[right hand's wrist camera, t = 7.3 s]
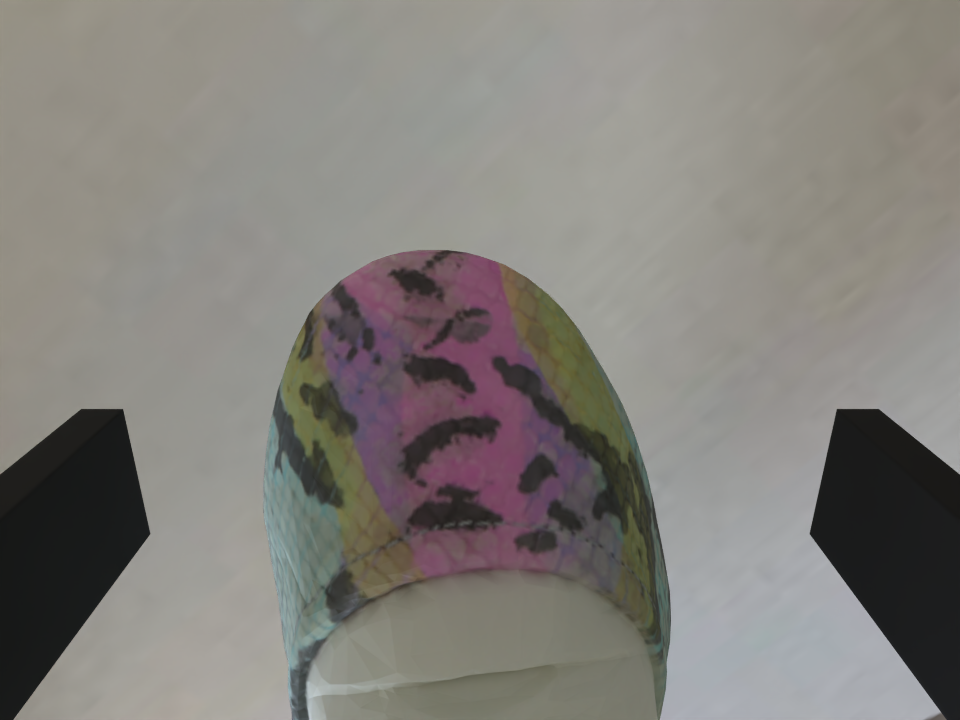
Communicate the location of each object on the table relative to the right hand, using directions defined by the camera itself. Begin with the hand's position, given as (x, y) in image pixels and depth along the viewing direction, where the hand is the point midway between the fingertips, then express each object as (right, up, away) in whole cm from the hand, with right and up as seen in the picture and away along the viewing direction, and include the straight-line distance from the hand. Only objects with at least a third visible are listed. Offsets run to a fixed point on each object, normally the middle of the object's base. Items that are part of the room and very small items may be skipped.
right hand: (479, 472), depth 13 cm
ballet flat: (0, -7, +5) cm, 8 cm away
